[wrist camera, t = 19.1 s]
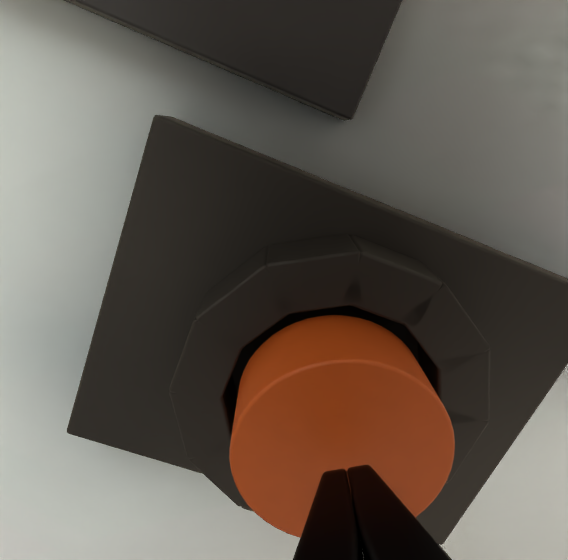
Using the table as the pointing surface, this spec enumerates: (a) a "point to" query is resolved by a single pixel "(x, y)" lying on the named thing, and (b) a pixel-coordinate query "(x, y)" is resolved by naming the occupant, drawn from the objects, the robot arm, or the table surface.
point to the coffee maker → (272, 41)
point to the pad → (302, 309)
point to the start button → (335, 418)
